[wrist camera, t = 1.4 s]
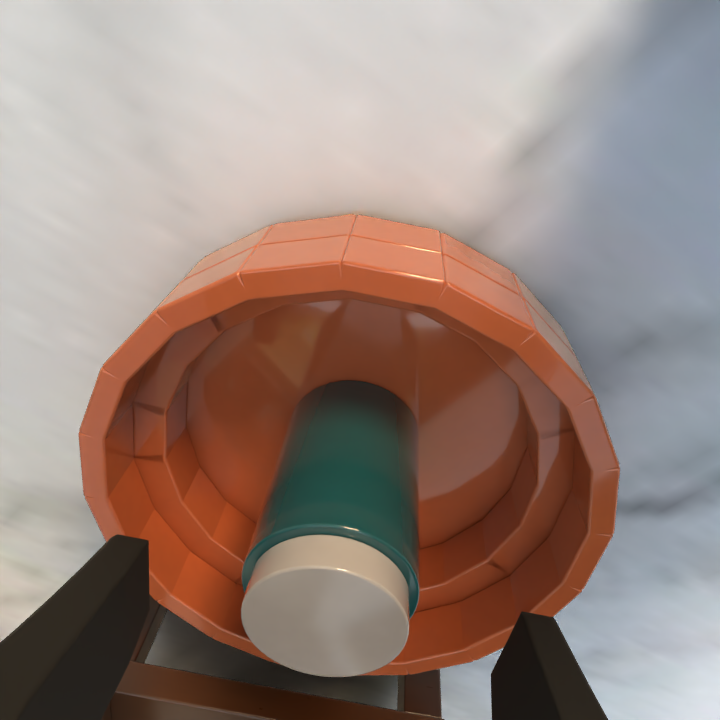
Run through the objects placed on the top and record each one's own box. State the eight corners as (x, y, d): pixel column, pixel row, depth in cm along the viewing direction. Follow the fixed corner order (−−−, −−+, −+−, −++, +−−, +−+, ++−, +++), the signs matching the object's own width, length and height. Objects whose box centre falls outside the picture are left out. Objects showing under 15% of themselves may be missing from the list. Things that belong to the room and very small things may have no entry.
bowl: (144, 537, 19) (94, 630, 16) (138, 165, 13) (57, 204, 10) (502, 604, 20) (518, 710, 17) (656, 267, 14) (725, 335, 11)
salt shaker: (282, 471, 17) (224, 665, 12) (297, 367, 15) (235, 542, 10) (403, 494, 17) (398, 698, 12) (432, 393, 15) (440, 581, 10)
